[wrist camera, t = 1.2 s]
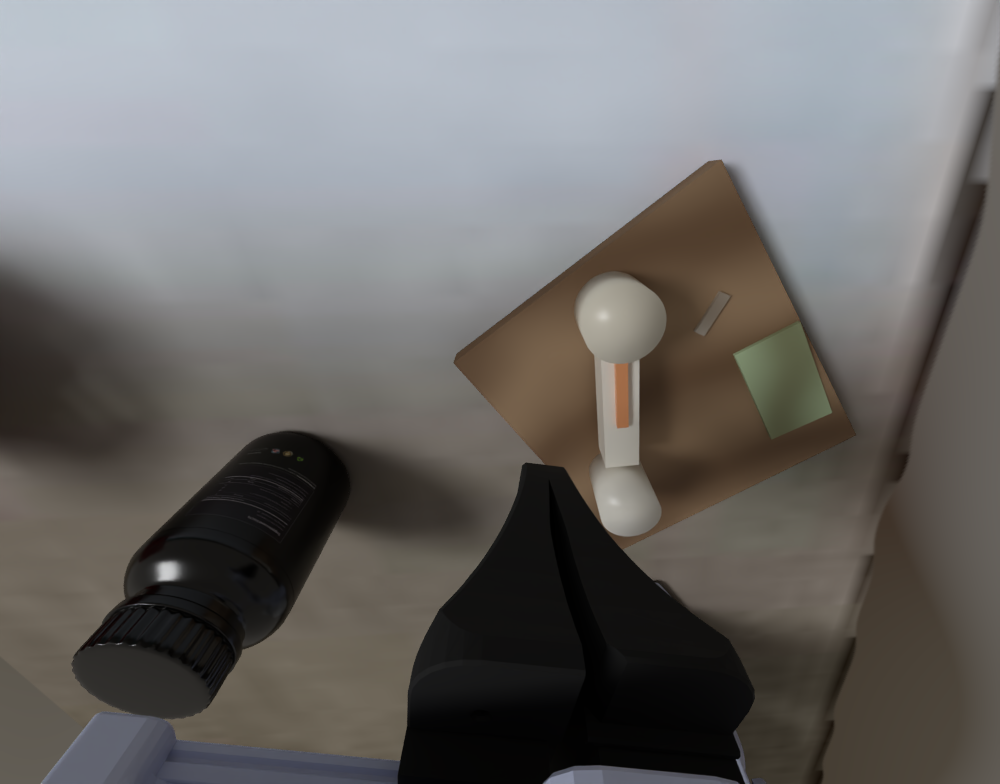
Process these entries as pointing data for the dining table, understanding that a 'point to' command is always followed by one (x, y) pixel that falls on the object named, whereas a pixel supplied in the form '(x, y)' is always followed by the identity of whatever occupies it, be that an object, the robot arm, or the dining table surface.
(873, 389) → the dining table surface
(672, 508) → the brown wooden board
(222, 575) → the supplement bottle
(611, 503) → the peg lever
